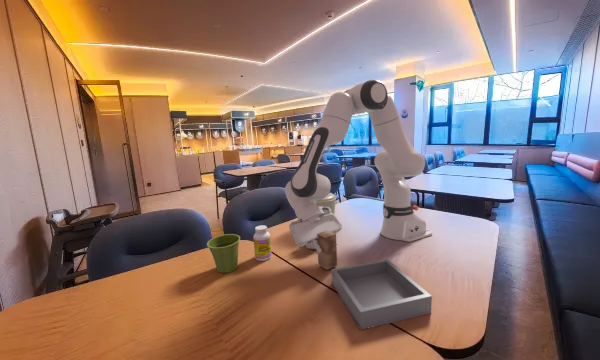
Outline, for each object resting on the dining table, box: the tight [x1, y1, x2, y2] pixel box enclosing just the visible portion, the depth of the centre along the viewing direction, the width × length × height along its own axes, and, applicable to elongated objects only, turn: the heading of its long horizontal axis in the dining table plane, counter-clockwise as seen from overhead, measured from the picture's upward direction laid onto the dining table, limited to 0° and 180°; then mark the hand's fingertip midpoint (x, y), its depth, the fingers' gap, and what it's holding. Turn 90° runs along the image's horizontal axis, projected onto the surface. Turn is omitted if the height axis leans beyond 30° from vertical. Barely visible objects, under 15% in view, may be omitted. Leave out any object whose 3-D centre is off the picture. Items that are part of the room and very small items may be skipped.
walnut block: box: [317, 230, 338, 270], centre depth 87 cm, size 5×5×12 cm
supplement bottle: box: [252, 224, 272, 262], centre depth 97 cm, size 7×7×13 cm
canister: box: [315, 192, 338, 215], centre depth 124 cm, size 18×18×21 cm
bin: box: [330, 258, 433, 330], centre depth 70 cm, size 20×20×5 cm
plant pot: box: [206, 233, 241, 274], centre depth 90 cm, size 12×12×11 cm
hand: (328, 249), depth 87 cm, fingers closed on walnut block, 5 cm apart
